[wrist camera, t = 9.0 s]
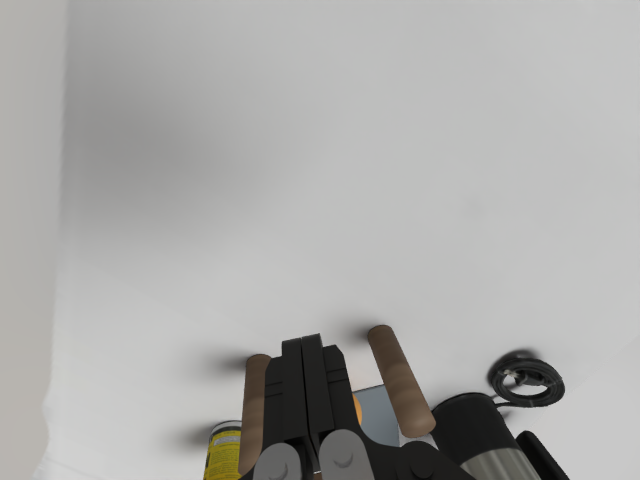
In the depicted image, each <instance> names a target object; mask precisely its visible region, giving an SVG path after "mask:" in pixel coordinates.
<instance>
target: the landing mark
mask: <svg viewBox="0 0 640 480" xmlns="http://www.w3.org/2000/svg"><path fill="white" fill-rule="evenodd" d="M352 393H353V394H354V395H355V397H356V398H357V400H358V401H359V404H360V406H361V411H362V421H361V425H360V427H361V429H362V430H363V432H364V433H365V434H366V435H367V436H368V437H369V438H370V439H371V440H373V441H375V442H377V443H379V444H383V445H389V446H395V447H400V446H399V434H398V422H397V418H396V416H395V413H394V410H393V407H392V404H391V402H390V399H389V396H388V393H387V391H386V388H385V385H380V386H376V387H372V388H368V389H364V390H360V391H356V392H352Z"/></svg>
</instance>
